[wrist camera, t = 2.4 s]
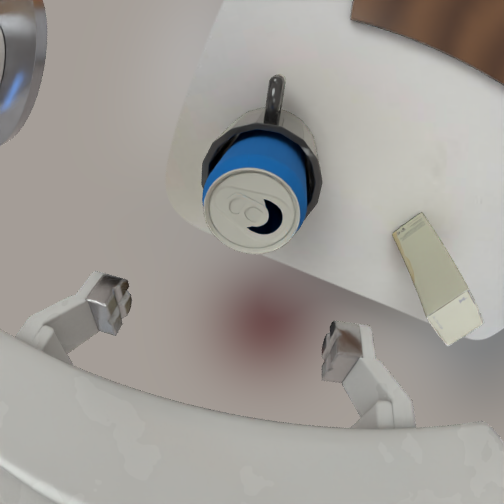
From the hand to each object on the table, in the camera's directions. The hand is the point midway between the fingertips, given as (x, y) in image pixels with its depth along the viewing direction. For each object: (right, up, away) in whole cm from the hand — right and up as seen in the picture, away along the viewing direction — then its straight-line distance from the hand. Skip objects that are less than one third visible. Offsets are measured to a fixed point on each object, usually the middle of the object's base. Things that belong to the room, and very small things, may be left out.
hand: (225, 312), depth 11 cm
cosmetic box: (+20, +4, +19) cm, 27 cm away
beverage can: (+3, +11, +16) cm, 20 cm away
